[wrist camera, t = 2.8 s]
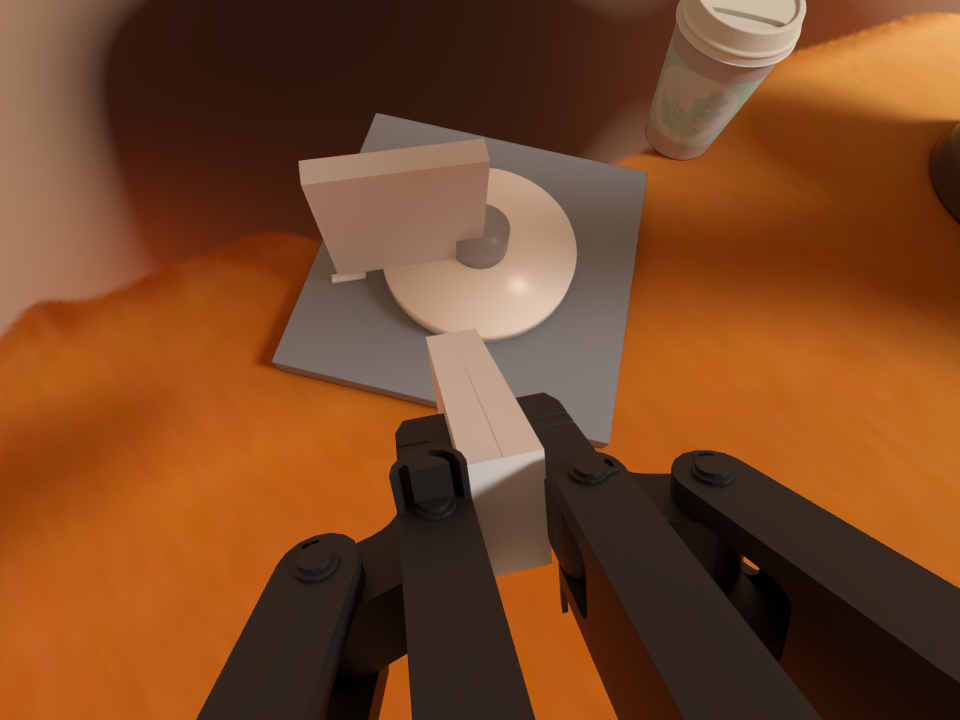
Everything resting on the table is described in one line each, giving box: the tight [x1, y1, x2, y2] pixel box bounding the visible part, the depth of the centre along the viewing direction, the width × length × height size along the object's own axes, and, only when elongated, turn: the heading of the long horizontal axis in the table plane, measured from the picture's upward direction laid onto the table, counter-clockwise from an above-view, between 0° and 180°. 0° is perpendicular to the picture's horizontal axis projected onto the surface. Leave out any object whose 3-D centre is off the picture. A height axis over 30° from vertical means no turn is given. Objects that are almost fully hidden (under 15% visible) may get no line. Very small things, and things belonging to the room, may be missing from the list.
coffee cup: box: [645, 0, 806, 160], centre depth 39 cm, size 8×8×12 cm
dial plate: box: [272, 113, 647, 448], centre depth 38 cm, size 23×23×2 cm
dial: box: [299, 139, 577, 343], centre depth 32 cm, size 17×14×10 cm
